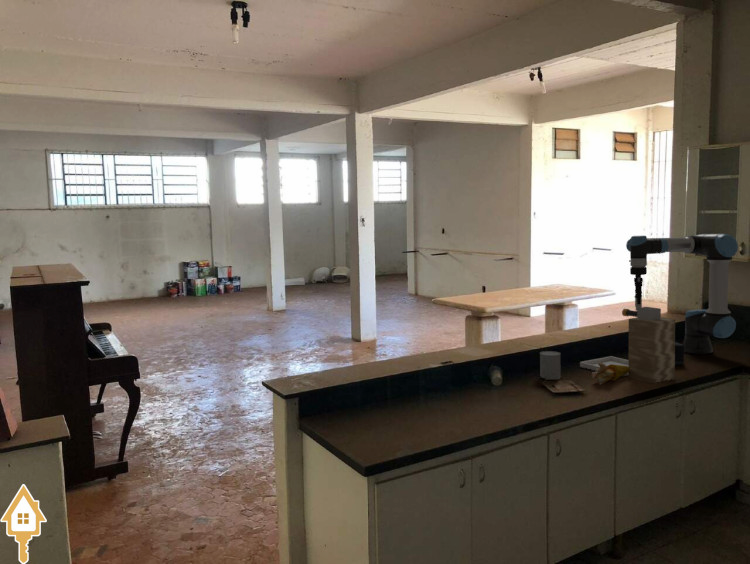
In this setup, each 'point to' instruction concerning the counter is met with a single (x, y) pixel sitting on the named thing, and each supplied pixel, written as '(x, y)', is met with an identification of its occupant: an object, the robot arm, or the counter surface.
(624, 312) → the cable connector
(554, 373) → the grey cylinder
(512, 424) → the counter surface
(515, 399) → the counter surface
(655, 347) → the stand
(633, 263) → the robot arm
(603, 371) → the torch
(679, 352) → the small box
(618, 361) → the tray
